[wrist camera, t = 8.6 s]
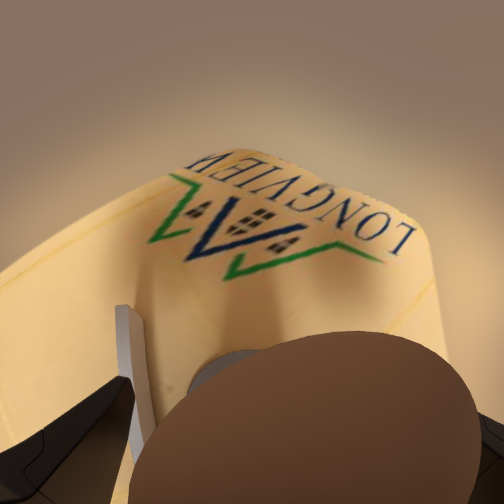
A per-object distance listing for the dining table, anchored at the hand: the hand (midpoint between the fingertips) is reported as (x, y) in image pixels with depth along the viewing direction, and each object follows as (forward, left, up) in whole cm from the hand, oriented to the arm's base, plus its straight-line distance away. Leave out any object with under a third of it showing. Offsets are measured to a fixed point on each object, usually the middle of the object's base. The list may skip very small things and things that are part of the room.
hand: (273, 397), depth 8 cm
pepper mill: (-1, +1, -8) cm, 8 cm away
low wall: (+4, +5, -9) cm, 11 cm away
